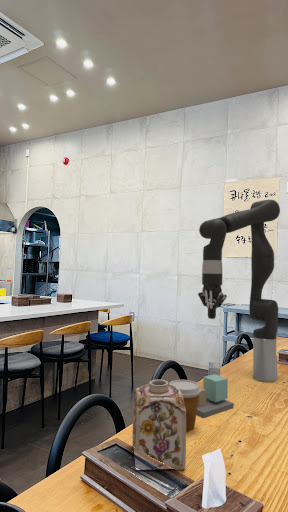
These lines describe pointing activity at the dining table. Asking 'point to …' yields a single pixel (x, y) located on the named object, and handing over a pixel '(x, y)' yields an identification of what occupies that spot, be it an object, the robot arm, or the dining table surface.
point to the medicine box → (214, 368)
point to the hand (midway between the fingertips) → (211, 318)
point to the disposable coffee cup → (189, 399)
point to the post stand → (211, 405)
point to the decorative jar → (160, 423)
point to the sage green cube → (215, 387)
